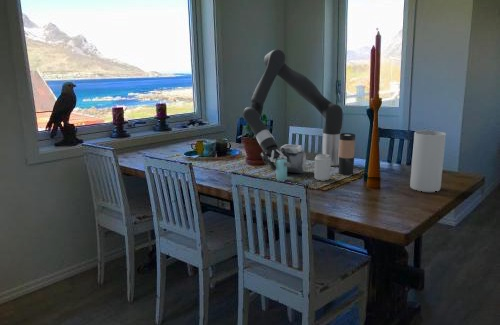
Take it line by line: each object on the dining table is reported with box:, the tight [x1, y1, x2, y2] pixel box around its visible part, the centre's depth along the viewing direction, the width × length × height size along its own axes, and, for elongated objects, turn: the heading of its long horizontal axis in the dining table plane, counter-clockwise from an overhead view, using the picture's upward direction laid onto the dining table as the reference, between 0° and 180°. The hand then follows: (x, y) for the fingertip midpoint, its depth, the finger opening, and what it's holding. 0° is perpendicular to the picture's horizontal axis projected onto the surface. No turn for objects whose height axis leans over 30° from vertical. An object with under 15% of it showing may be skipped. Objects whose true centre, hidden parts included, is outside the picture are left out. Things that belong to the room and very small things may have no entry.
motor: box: [274, 143, 307, 174], centre depth 214 cm, size 13×11×14 cm
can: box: [314, 153, 331, 182], centre depth 201 cm, size 8×8×12 cm
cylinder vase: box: [409, 130, 447, 193], centre depth 183 cm, size 12×12×25 cm
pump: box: [275, 159, 291, 182], centre depth 199 cm, size 8×5×10 cm, turn 39°
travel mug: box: [338, 132, 356, 176], centre depth 210 cm, size 8×8×20 cm
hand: (282, 168), depth 199 cm, fingers open, 8 cm apart
